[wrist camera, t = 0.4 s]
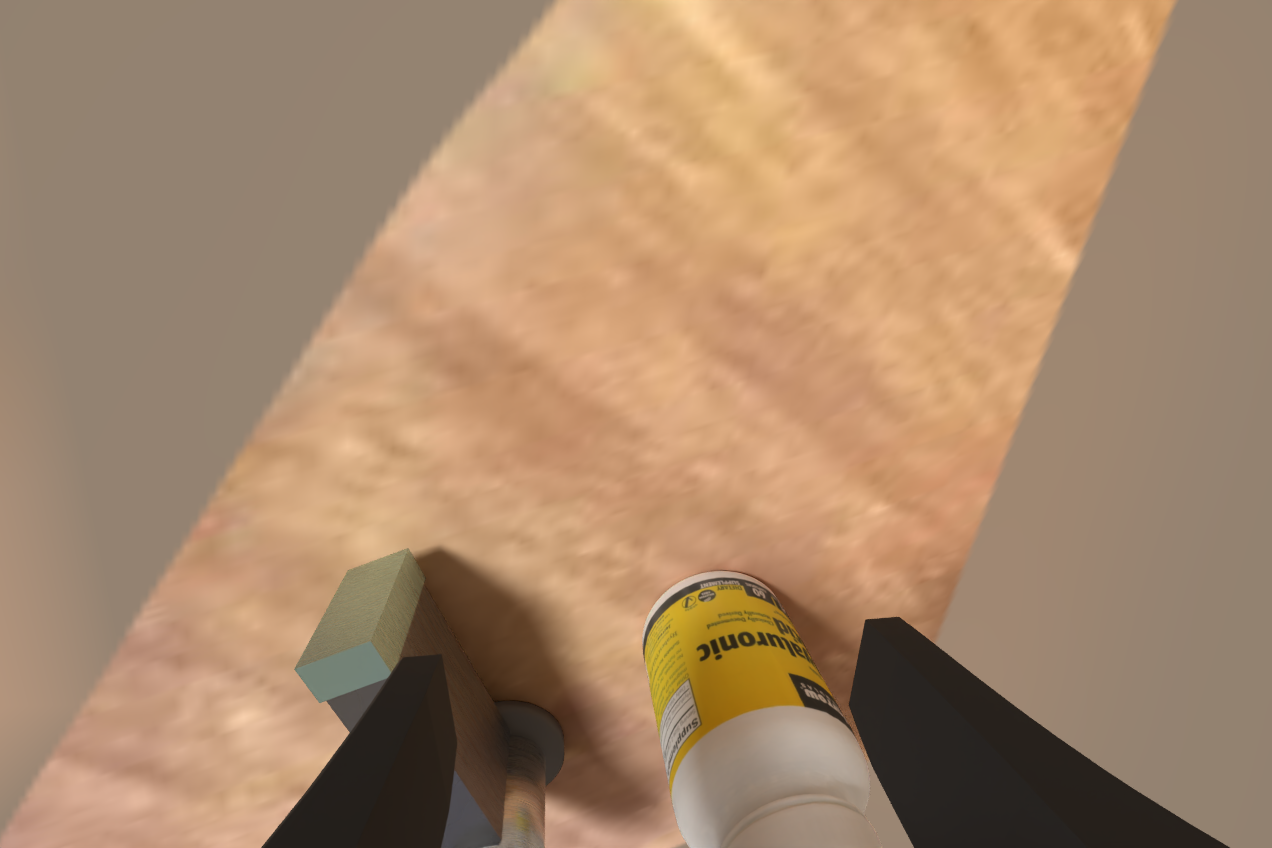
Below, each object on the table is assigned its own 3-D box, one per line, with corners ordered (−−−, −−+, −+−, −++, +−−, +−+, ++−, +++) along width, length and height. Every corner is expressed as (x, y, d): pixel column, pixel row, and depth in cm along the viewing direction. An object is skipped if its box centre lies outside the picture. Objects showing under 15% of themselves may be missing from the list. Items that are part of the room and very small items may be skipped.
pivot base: (477, 800, 24) (475, 814, 24) (427, 725, 22) (424, 739, 22) (580, 762, 24) (581, 776, 24) (538, 685, 22) (538, 697, 22)
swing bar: (557, 777, 23) (558, 925, 18) (483, 804, 23) (466, 958, 18) (423, 542, 19) (380, 657, 14) (332, 575, 19) (260, 701, 14)
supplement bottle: (803, 581, 22) (976, 847, 13) (747, 692, 24) (867, 997, 15) (669, 549, 21) (757, 819, 12) (619, 669, 23) (664, 987, 14)
